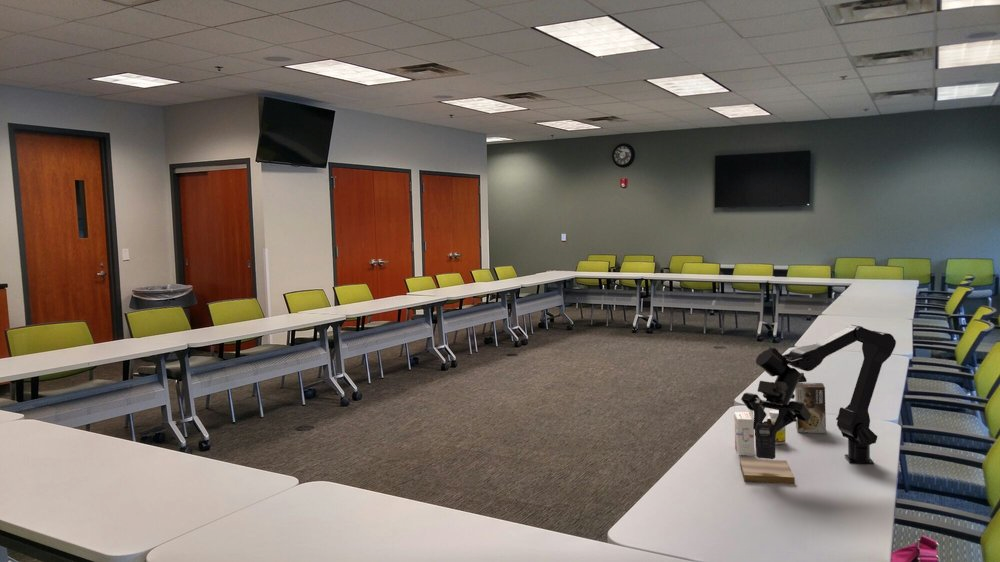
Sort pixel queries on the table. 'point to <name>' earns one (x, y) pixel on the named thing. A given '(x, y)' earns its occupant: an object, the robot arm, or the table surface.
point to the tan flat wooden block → (766, 471)
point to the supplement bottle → (781, 433)
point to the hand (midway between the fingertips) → (763, 431)
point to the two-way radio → (764, 438)
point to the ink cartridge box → (744, 433)
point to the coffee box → (812, 407)
